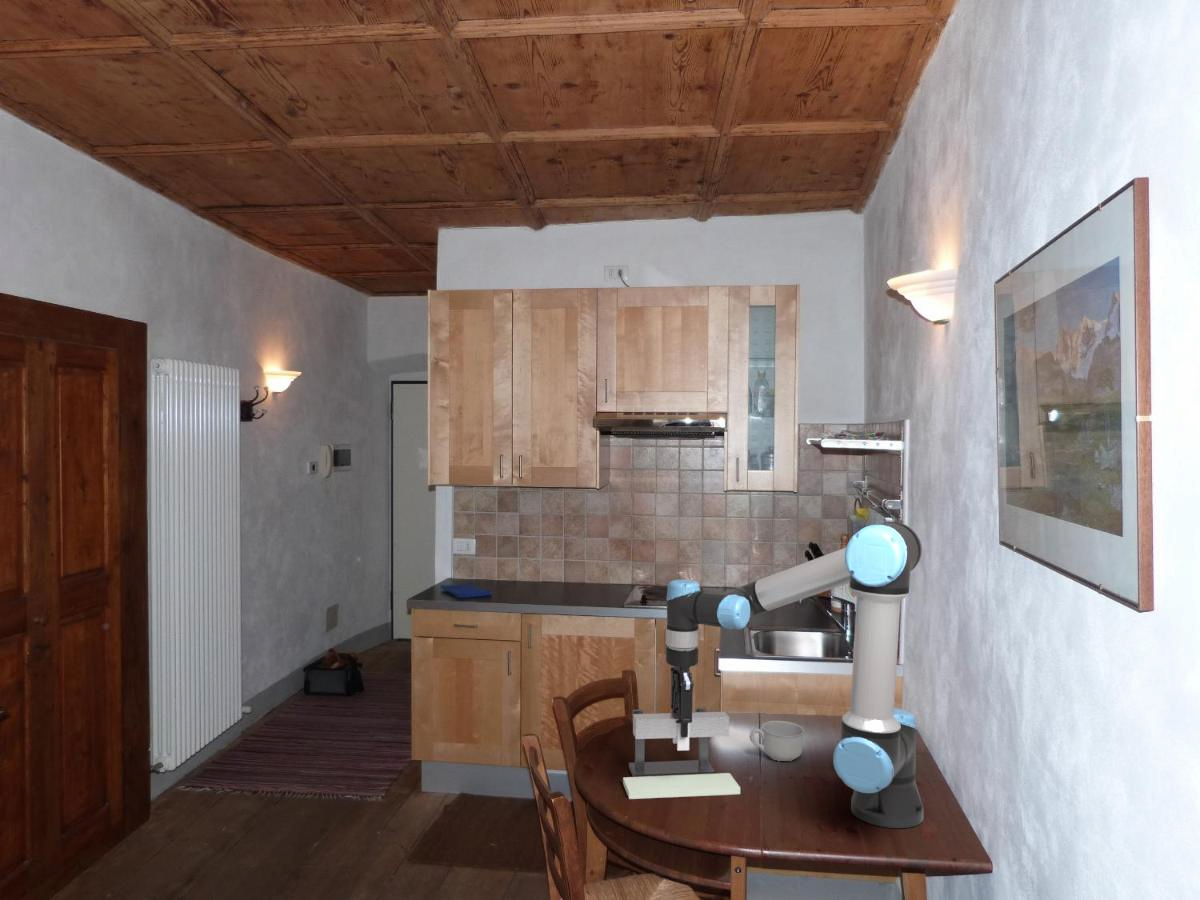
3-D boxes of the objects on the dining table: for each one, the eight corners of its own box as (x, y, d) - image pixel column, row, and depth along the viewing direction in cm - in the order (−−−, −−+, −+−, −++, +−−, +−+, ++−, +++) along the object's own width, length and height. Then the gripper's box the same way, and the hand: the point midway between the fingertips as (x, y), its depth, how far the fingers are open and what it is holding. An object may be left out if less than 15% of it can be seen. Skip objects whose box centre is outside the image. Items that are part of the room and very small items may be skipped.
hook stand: (715, 776, 215) (716, 717, 215) (634, 779, 213) (634, 719, 212) (707, 764, 223) (707, 707, 223) (628, 767, 221) (629, 709, 220)
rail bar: (728, 736, 207) (729, 717, 207) (635, 739, 204) (636, 719, 204) (724, 730, 211) (724, 711, 211) (633, 733, 208) (633, 714, 208)
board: (740, 794, 205) (740, 787, 205) (629, 799, 201) (629, 792, 201) (729, 779, 214) (729, 773, 213) (623, 783, 210) (623, 777, 210)
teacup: (801, 751, 233) (801, 721, 233) (806, 766, 222) (807, 734, 222) (747, 749, 235) (747, 719, 234) (750, 764, 224) (750, 732, 224)
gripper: (706, 655, 199) (705, 759, 199) (689, 638, 216) (688, 733, 216) (674, 656, 198) (672, 760, 198) (659, 638, 215) (658, 734, 215)
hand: (680, 746), depth 207 cm, fingers closed on rail bar, 4 cm apart
